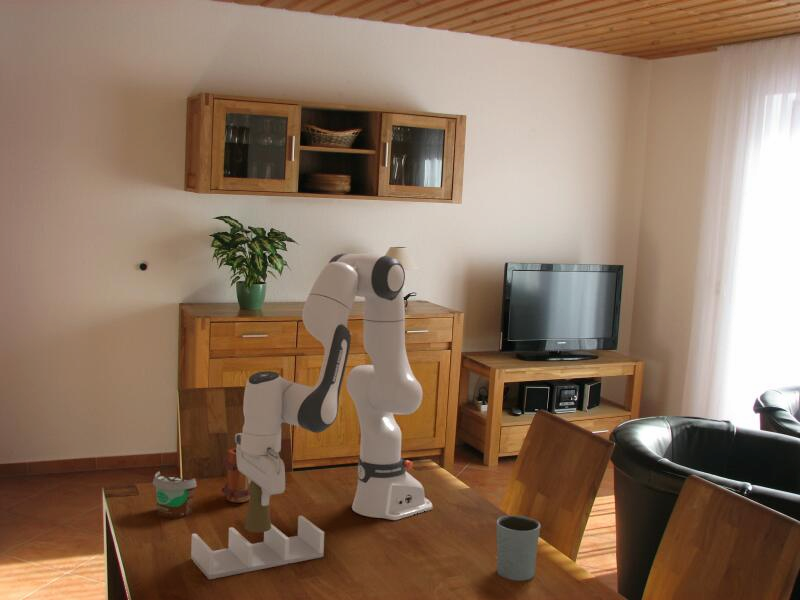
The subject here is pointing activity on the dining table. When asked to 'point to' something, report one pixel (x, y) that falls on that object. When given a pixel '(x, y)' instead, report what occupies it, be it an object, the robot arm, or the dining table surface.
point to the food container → (174, 495)
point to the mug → (235, 480)
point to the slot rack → (258, 551)
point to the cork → (257, 511)
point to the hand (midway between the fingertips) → (259, 501)
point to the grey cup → (517, 547)
